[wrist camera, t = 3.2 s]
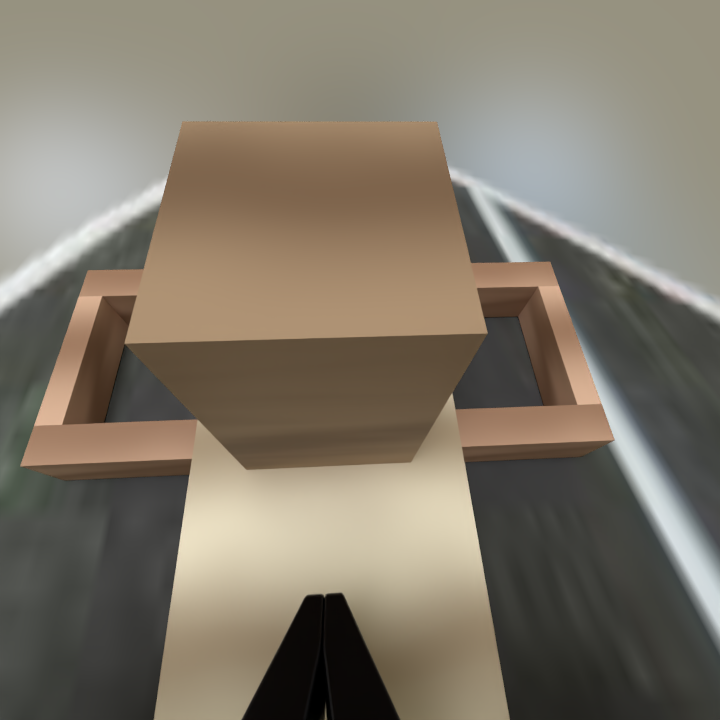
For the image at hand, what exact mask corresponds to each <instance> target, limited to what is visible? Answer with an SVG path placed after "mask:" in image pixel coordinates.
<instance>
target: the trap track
mask: <svg viewBox="0 0 720 720" xmlns="http://www.w3.org/2000/svg"><path fill="white" fill-rule="evenodd" d="M471 266H472V270H473V274H474V279H475V283H476V287H477V291H478V295H479V299H480V304H481V308H482V312H483V316H484V317H516V316H518V318H519V321H520V325H521V328H522V332H523V335H524V339H525V342H526V346H527V349H528V352H529V356H530V359H531V363H532V366H533V370H534V373H535V377H536V380H537V384H538V387H539V391H540V394H541V397H542V401H543V404H544V406H535V407H509V408H483V409H457V410H455V405H454V400H453V394H451V396H450V397H449V399H448V401H447V403H446V404H445V406H444V408H443V409H442V411H441V413H440V414H439V416H438V418H437V419H436V421H435V423H434V424H433V426H432V428H431V429H430V431H429V433H428V434H427V436H426V438H425V440H424V441H423V443H422V445H421V446H420V448H419V450H418V451H417V453H416V455H415V456H414V458H413V460H412V461H411V462H410V463H388V464H366V465H344V466H323V467H301V468H279V469H257V470H246V469H245V468H244V467H243V466H242V465H241V464H240V463H239V462H238V461H237V460H236V459H235V458H234V457H233V456H232V455H231V454H230V452H229V451H228V450H227V449H226V448H225V447H224V446H223V445H222V444H221V443H220V442H219V441H218V440H217V439H216V438H215V437H214V436H213V435H212V434H211V433H210V432H209V431H208V430H207V429H206V428H205V427H204V426H203V425H202V424H201V422H200V421H199V420H172V421H146V422H120V423H104V421H105V417H106V413H107V409H108V405H109V401H110V398H111V394H112V390H113V386H114V382H115V378H116V375H117V371H118V367H119V363H120V359H121V355H122V352H123V348H124V343H125V339H126V336H127V332H128V328H129V324H130V320H131V316H132V313H133V309H134V305H135V301H136V297H137V293H138V290H139V286H140V282H141V278H142V274H143V271H144V269H140V270H88V272H87V275H86V278H85V281H84V284H83V286H82V289H81V292H80V295H79V298H78V301H77V304H76V307H75V310H74V312H73V315H72V318H71V321H70V324H69V327H68V330H67V333H66V336H65V338H64V341H63V344H62V347H61V350H60V353H59V356H58V359H57V362H56V364H55V367H54V370H53V373H52V376H51V379H50V382H49V385H48V388H47V390H46V393H45V396H44V399H43V402H42V405H41V408H40V411H39V414H38V416H37V419H36V422H35V425H34V428H33V431H32V434H31V437H30V440H29V442H28V445H27V448H26V451H25V454H24V457H23V460H22V463H21V467H24V468H28V469H31V470H34V471H37V472H40V473H43V474H46V475H49V476H52V477H55V478H58V479H61V480H85V479H106V478H128V477H150V476H172V475H189V482H188V489H187V496H186V503H185V510H184V517H183V523H182V530H181V537H180V544H179V551H178V558H177V565H176V571H175V578H174V585H173V592H172V599H171V606H170V612H169V619H168V626H167V633H166V640H165V647H164V654H163V660H162V667H161V674H160V681H159V688H158V695H157V702H156V708H155V715H154V720H241V719H242V717H243V715H244V714H245V712H246V710H247V708H248V706H249V704H250V702H251V700H252V698H253V696H254V694H255V692H256V690H257V688H258V686H259V684H260V683H261V681H262V679H263V677H264V675H265V673H266V671H267V669H268V667H269V665H270V663H271V661H272V659H273V657H274V655H275V653H276V651H277V650H278V648H279V646H280V644H281V642H282V640H283V638H284V636H285V634H286V632H287V630H288V628H289V626H290V624H291V622H292V620H293V619H294V617H295V615H296V613H297V611H298V609H299V607H300V605H301V603H302V601H303V599H304V598H305V596H306V595H308V594H323V595H324V598H325V595H326V594H327V593H338V592H341V593H343V594H344V596H345V598H346V600H347V602H348V605H349V607H350V609H351V611H352V614H353V616H354V618H355V620H356V622H357V625H358V627H359V629H360V631H361V633H362V636H363V638H364V640H365V642H366V644H367V647H368V649H369V651H370V653H371V655H372V658H373V660H374V662H375V664H376V667H377V669H378V671H379V673H380V675H381V678H382V680H383V682H384V684H385V686H386V689H387V691H388V693H389V695H390V697H391V700H392V702H393V704H394V706H395V709H396V711H397V713H398V715H399V717H400V720H510V718H509V713H508V707H507V701H506V696H505V690H504V684H503V678H502V673H501V667H500V661H499V656H498V650H497V644H496V639H495V633H494V627H493V622H492V616H491V610H490V605H489V599H488V593H487V587H486V582H485V576H484V570H483V565H482V559H481V553H480V548H479V542H478V536H477V531H476V525H475V519H474V514H473V508H472V502H471V496H470V491H469V485H468V479H467V474H466V468H465V462H478V461H499V460H521V459H543V458H565V457H581V456H583V455H586V454H588V453H590V452H592V451H594V450H596V449H598V448H600V447H602V446H604V445H606V444H608V443H610V442H612V441H614V437H613V434H612V431H611V429H610V426H609V423H608V420H607V418H606V415H605V412H604V409H603V407H602V404H601V401H600V398H599V396H598V393H597V390H596V387H595V384H594V382H593V379H592V376H591V373H590V371H589V368H588V365H587V362H586V360H585V357H584V354H583V351H582V349H581V346H580V343H579V340H578V338H577V335H576V332H575V329H574V326H573V324H572V321H571V318H570V315H569V313H568V310H567V307H566V304H565V302H564V299H563V296H562V293H561V291H560V288H559V285H558V282H557V280H556V277H555V274H554V271H553V268H552V266H551V263H550V262H514V263H471ZM325 720H327V718H326V708H325Z"/></svg>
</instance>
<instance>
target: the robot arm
mask: <svg viewBox="0 0 720 720" xmlns="http://www.w3.org/2000/svg"><path fill="white" fill-rule="evenodd" d="M325 708H326V718H327V720H400V717H399V715H398V713H397V711H396V709H395V706H394V704H393V702H392V700H391V697H390V695H389V693H388V691H387V689H386V686H385V684H384V682H383V680H382V678H381V675H380V673H379V671H378V669H377V667H376V664H375V662H374V660H373V658H372V655H371V653H370V651H369V649H368V647H367V644H366V642H365V640H364V638H363V636H362V633H361V631H360V629H359V627H358V625H357V622H356V620H355V618H354V616H353V614H352V611H351V609H350V607H349V605H348V602H347V600H346V598H345V596H344V594H343V593H341V592H338V593H327V594H326V595H325V598H324V595H323V594H308V595H306V596H305V598H304V599H303V601H302V603H301V605H300V607H299V609H298V611H297V613H296V615H295V617H294V619H293V620H292V622H291V624H290V626H289V628H288V630H287V632H286V634H285V636H284V638H283V640H282V642H281V644H280V646H279V648H278V650H277V651H276V653H275V655H274V657H273V659H272V661H271V663H270V665H269V667H268V669H267V671H266V673H265V675H264V677H263V679H262V681H261V683H260V684H259V686H258V688H257V690H256V692H255V694H254V696H253V698H252V700H251V702H250V704H249V706H248V708H247V710H246V712H245V714H244V715H243V717H242V719H241V720H325Z"/></svg>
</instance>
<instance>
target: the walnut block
mask: <svg viewBox="0 0 720 720" xmlns="http://www.w3.org/2000/svg"><path fill="white" fill-rule="evenodd" d="M487 334H488V333H487V329H486V325H485V320H484V316H483V312H482V308H481V304H480V299H479V295H478V291H477V287H476V283H475V279H474V274H473V270H472V266H471V262H470V258H469V254H468V249H467V245H466V241H465V237H464V233H463V228H462V224H461V220H460V216H459V212H458V208H457V203H456V199H455V195H454V191H453V187H452V183H451V178H450V174H449V170H448V166H447V162H446V157H445V153H444V149H443V145H442V141H441V137H440V133H439V128H438V124H437V122H182V126H181V129H180V133H179V137H178V141H177V145H176V148H175V152H174V156H173V160H172V163H171V167H170V171H169V175H168V179H167V183H166V186H165V190H164V194H163V198H162V202H161V206H160V209H159V213H158V217H157V221H156V225H155V228H154V232H153V236H152V240H151V244H150V248H149V251H148V255H147V259H146V263H145V267H144V271H143V274H142V278H141V282H140V286H139V290H138V293H137V297H136V301H135V305H134V309H133V313H132V316H131V320H130V324H129V328H128V332H127V336H126V339H125V343H124V344H125V345H126V346H127V347H128V348H129V349H130V350H131V351H132V352H133V353H134V354H135V355H136V356H137V357H138V358H139V359H140V360H141V361H142V362H143V363H144V364H145V366H146V367H147V368H148V369H149V370H150V371H151V372H152V373H153V374H154V375H155V376H156V377H157V378H158V379H159V380H160V381H161V382H162V383H163V384H164V385H165V386H166V387H167V388H168V389H169V390H170V391H171V392H172V393H173V395H174V396H175V397H176V398H177V399H178V400H179V401H180V402H181V403H182V404H183V405H184V406H185V407H186V408H187V409H188V410H189V411H190V412H191V413H192V414H193V415H194V416H195V417H196V418H197V419H198V420H199V421H200V422H201V424H202V425H203V426H204V427H205V428H206V429H207V430H208V431H209V432H210V433H211V434H212V435H213V436H214V437H215V438H216V439H217V440H218V441H219V442H220V443H221V444H222V445H223V446H224V447H225V448H226V449H227V450H228V451H229V452H230V454H231V455H232V456H233V457H234V458H235V459H236V460H237V461H238V462H239V463H240V464H241V465H242V466H243V467H244V468H245V469H246V470H257V469H279V468H301V467H323V466H344V465H366V464H388V463H410V462H411V461H412V460H413V458H414V456H415V455H416V453H417V451H418V450H419V448H420V446H421V445H422V443H423V441H424V440H425V438H426V436H427V434H428V433H429V431H430V429H431V428H432V426H433V424H434V423H435V421H436V419H437V418H438V416H439V414H440V413H441V411H442V409H443V408H444V406H445V404H446V403H447V401H448V399H449V397H450V396H451V394H452V392H453V391H454V389H455V387H456V386H457V384H458V382H459V381H460V379H461V377H462V376H463V374H464V372H465V371H466V369H467V367H468V366H469V364H470V362H471V360H472V359H473V357H474V355H475V354H476V352H477V350H478V349H479V347H480V345H481V344H482V342H483V340H484V339H485V337H486V335H487Z"/></svg>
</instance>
